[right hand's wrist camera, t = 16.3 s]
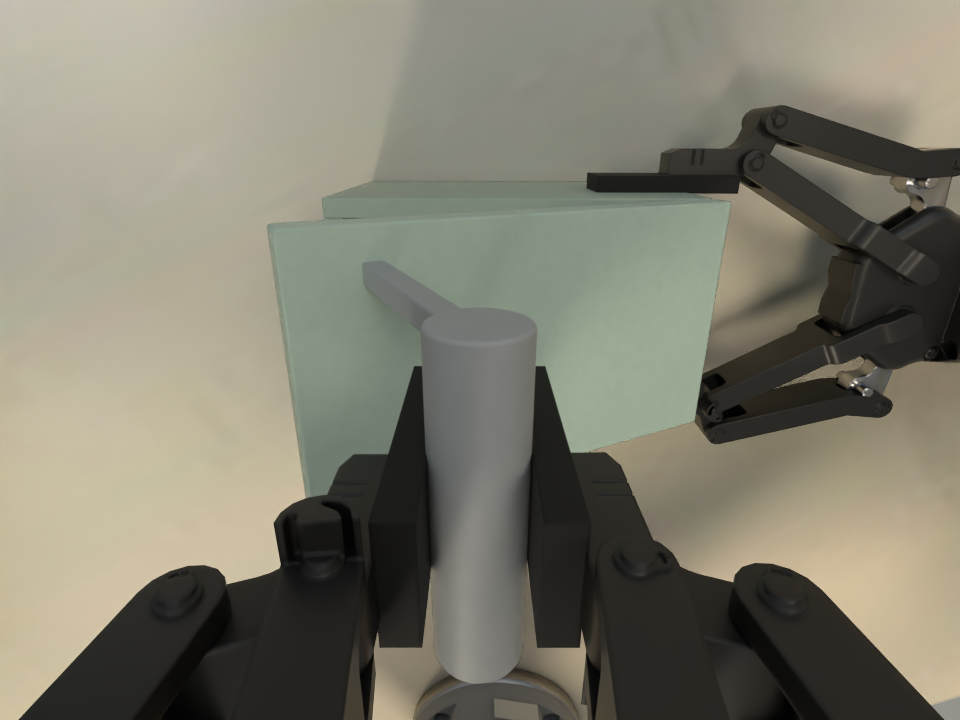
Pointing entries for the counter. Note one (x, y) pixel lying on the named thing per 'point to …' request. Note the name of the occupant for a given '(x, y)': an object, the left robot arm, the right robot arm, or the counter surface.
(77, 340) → the counter surface
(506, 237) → the lid
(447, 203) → the chest
